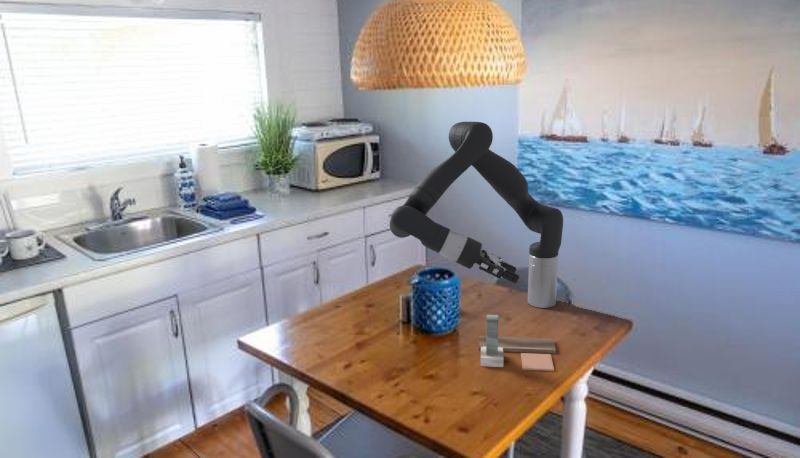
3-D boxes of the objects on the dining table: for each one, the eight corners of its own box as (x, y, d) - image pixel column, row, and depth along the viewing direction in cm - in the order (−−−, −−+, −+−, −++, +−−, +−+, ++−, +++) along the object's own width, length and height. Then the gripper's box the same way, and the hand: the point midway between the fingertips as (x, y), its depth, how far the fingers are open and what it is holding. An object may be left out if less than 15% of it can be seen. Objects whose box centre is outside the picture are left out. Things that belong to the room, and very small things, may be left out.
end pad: (520, 354, 157) (520, 353, 157) (550, 355, 156) (550, 354, 156) (522, 369, 149) (522, 368, 149) (553, 371, 148) (554, 369, 148)
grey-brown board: (479, 338, 167) (479, 335, 166) (552, 341, 164) (552, 338, 163) (479, 350, 160) (479, 347, 160) (555, 353, 157) (555, 350, 157)
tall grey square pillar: (480, 354, 158) (481, 312, 154) (502, 355, 157) (503, 312, 153) (480, 366, 152) (481, 321, 148) (503, 367, 151) (504, 322, 147)
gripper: (466, 241, 141) (525, 269, 140) (466, 231, 155) (520, 257, 154) (453, 267, 142) (512, 295, 142) (454, 255, 156) (508, 281, 156)
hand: (516, 275), depth 148 cm, fingers open, 8 cm apart
